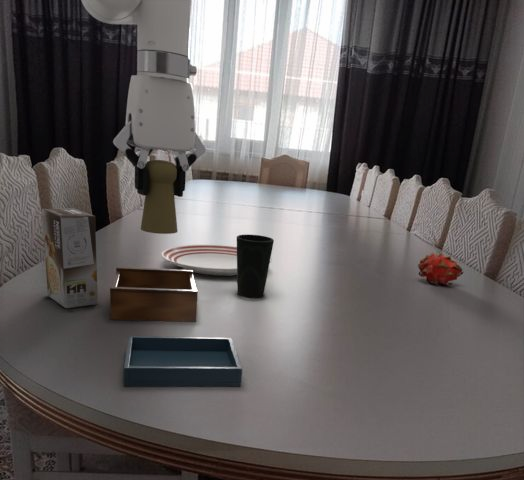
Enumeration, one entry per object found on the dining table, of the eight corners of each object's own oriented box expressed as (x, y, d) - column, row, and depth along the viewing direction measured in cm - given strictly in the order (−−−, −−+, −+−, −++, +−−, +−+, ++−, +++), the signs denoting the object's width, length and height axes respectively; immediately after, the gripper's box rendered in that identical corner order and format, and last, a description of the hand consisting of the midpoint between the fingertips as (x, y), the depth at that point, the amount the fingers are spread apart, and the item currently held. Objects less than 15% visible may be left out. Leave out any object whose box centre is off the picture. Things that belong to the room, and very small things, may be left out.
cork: (136, 226, 87) (136, 157, 83) (170, 227, 90) (172, 160, 86) (146, 233, 82) (147, 160, 78) (182, 233, 85) (185, 163, 81)
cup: (229, 296, 108) (233, 238, 103) (236, 287, 115) (240, 233, 110) (265, 301, 107) (271, 243, 102) (270, 292, 114) (275, 237, 109)
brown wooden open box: (110, 319, 89) (109, 288, 86) (116, 294, 102) (116, 266, 100) (196, 322, 91) (197, 291, 89) (191, 297, 105) (192, 270, 103)
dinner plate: (152, 276, 117) (152, 261, 116) (168, 251, 142) (169, 239, 141) (273, 285, 119) (274, 271, 117) (268, 259, 144) (269, 247, 143)
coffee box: (99, 304, 95) (97, 215, 89) (65, 309, 91) (60, 216, 85) (78, 291, 101) (75, 207, 95) (45, 295, 97) (39, 207, 91)
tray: (123, 386, 66) (123, 367, 66) (128, 352, 77) (128, 335, 76) (240, 386, 70) (242, 368, 69) (230, 353, 80) (231, 337, 79)
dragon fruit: (409, 284, 139) (453, 296, 138) (420, 272, 130) (466, 285, 130) (415, 256, 141) (458, 268, 140) (426, 242, 132) (472, 255, 132)
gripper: (204, 78, 85) (198, 193, 91) (98, 61, 76) (100, 190, 82) (225, 77, 79) (217, 200, 86) (113, 57, 70) (114, 196, 77)
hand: (160, 193), depth 84 cm, fingers closed on cork, 5 cm apart
